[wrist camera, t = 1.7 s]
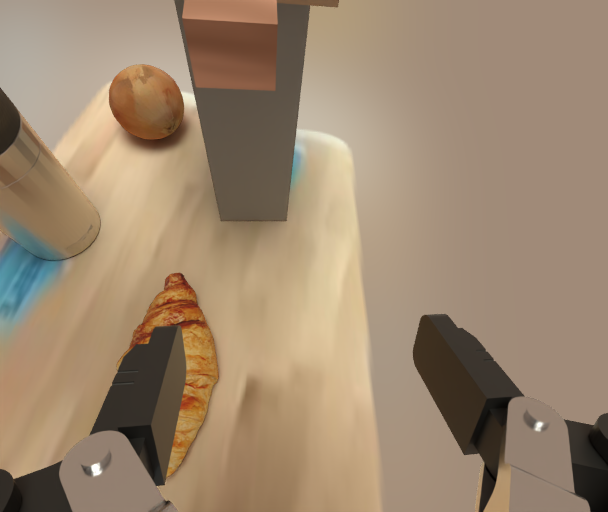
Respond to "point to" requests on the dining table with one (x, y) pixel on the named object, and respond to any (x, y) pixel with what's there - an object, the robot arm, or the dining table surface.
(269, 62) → the batten
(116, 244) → the dining table surface
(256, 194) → the stand
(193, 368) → the croissant
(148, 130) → the onion
